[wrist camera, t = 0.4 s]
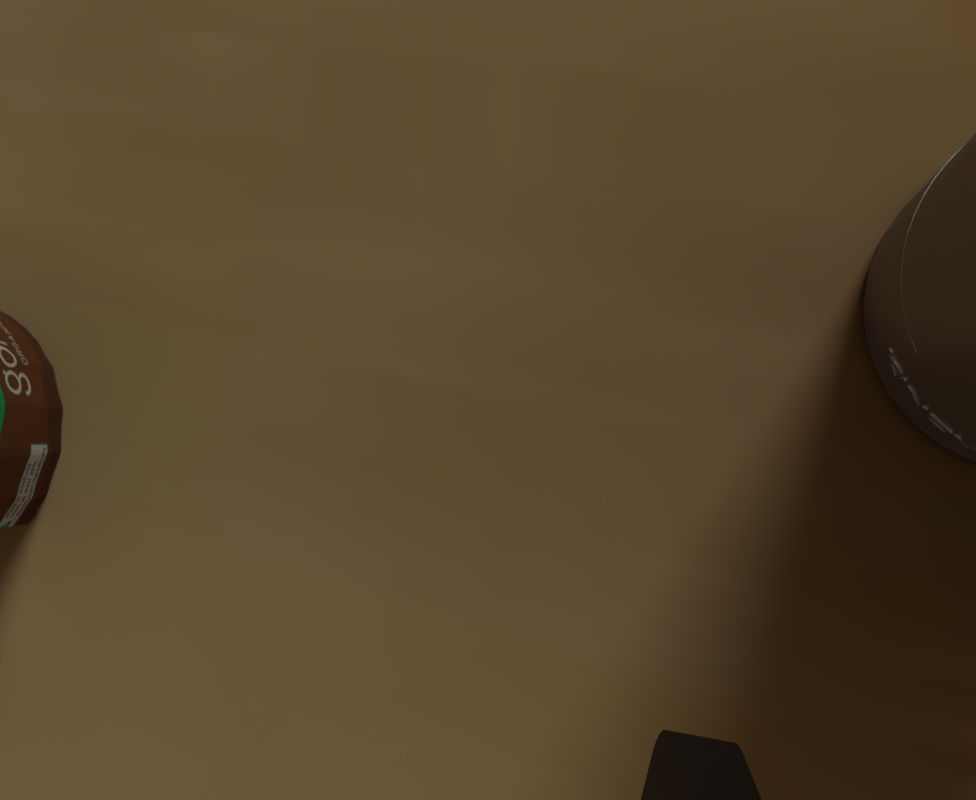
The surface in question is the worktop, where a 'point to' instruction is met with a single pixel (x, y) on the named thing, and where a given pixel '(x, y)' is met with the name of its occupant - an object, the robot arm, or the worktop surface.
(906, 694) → the worktop surface
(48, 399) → the food container
